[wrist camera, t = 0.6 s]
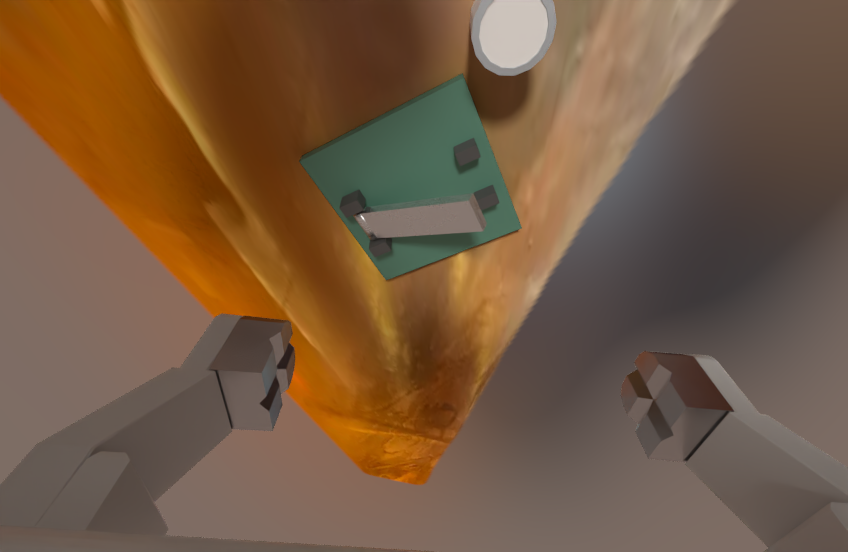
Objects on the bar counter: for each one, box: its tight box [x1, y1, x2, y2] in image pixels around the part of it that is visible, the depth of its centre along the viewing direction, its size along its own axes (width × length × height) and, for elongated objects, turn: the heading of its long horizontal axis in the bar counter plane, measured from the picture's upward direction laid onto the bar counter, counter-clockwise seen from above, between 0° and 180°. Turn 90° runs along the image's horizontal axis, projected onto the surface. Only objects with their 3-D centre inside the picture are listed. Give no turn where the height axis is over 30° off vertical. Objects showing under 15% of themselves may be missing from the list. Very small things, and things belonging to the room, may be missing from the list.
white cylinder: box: [470, 0, 556, 76], centre depth 35 cm, size 7×7×7 cm
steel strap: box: [353, 193, 487, 240], centre depth 45 cm, size 4×16×2 cm, turn 116°
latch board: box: [299, 73, 522, 280], centre depth 48 cm, size 20×20×4 cm
